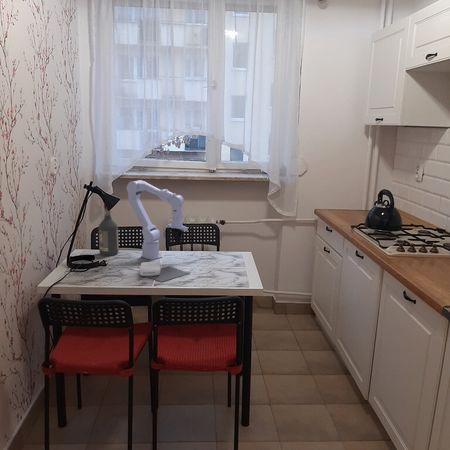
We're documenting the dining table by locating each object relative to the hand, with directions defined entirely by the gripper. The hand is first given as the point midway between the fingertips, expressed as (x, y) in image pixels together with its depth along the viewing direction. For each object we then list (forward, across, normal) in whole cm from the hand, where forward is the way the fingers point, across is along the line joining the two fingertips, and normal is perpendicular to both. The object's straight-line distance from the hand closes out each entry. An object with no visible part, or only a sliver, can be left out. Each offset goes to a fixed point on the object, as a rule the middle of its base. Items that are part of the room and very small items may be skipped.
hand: (177, 242), depth 241 cm
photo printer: (+8, +3, -21) cm, 23 cm away
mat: (+10, +13, -20) cm, 26 cm away
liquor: (+10, -37, -19) cm, 43 cm away
